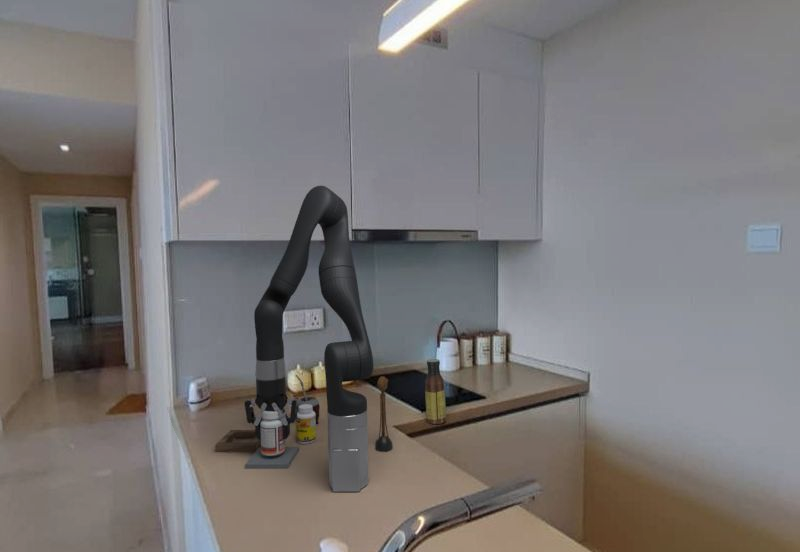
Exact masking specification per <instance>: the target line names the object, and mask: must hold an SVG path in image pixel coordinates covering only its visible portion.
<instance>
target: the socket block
mask: <svg viewBox="0 0 800 552" xmlns="http://www.w3.org/2000/svg"><path fill="white" fill-rule="evenodd" d="M249 439H250V440H251V439H252V440H251V441H248V442H243V441H242V442H241V441H239V442H238V441H237V442H235V441H234V440H249ZM259 447H261V439H257V437H256V436H255V429H231V430H229V431H228V432H227V433H226V434H225V435H224V436H223V437H222V438H220V439H219V441H218V442H216V443H215V445H214V449H215V450H214V451H215V453H255V452H256V450H257V449H258V448H259Z"/></svg>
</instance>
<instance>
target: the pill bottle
mask: <svg viewBox="0 0 800 552" xmlns="http://www.w3.org/2000/svg"><path fill="white" fill-rule="evenodd" d="M281 411H282V410H281ZM262 418H263V419H262V421H261V423H260V433H261V445H260V447H261V452H262V454H263V455H266V456H274V455H279V454H281V453H283V452H284V450H285V447H286V439H283V425H284V424H283V423H282V421H281V419H280V418H279V417H278V412H276V411H264V412H263V415H262Z"/></svg>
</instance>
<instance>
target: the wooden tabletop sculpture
mask: <svg viewBox="0 0 800 552" xmlns="http://www.w3.org/2000/svg"><path fill="white" fill-rule="evenodd" d="M388 384H389V379H388V378H386V377H385V376H380V377H379V378H378V379H377V384H376V386H377V388H378V390H379V391H380V394H379V404H380V405H379V406H380V407H379V408H380V412H379V413H380V419H379V432H378V438H377V439H376V441H375V444H374V449H375V451H377V452H380V453H387V452H390V451H392V450H393V448H394V446H393V442H392V440H391V438H390V437H389V433H388V426H387V414H386V413H387V411H386V410H387V409H386V395H387V394H386V393H385V391H386V390H387V389H388Z"/></svg>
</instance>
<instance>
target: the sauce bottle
mask: <svg viewBox="0 0 800 552" xmlns="http://www.w3.org/2000/svg"><path fill="white" fill-rule="evenodd" d="M440 362H441V361H440V359H437V358H431V359H426V365H427V375H426V378H425V379H424V393H425V394H424V395H425V396H424V397H425V412H426V413H425V414H426V421H427V422H428V423H429V424H430V425H441V424H445V422H446V421H447V409H446V408H447V407H446V393H445V392H446V391H445V383H444V378H443V376H442V375H441V371H440V366H441V365H440V364H441V363H440Z"/></svg>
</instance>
